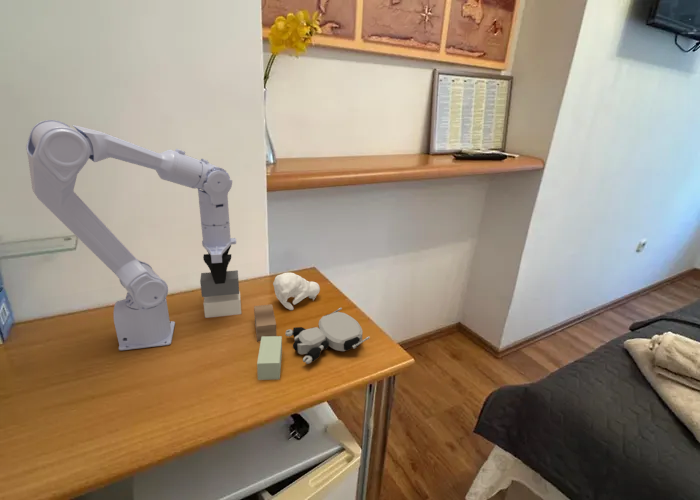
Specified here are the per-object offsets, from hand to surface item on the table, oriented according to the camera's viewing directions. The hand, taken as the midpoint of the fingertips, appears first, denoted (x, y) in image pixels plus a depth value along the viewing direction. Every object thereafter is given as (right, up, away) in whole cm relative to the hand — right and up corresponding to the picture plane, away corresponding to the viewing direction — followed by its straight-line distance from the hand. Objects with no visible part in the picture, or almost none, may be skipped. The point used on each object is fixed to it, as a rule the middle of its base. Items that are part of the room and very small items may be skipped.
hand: (220, 278), depth 87 cm
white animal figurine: (+16, -7, +10) cm, 20 cm away
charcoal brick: (0, -3, +1) cm, 3 cm away
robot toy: (+24, -14, -5) cm, 29 cm away
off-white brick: (0, -8, +4) cm, 9 cm away
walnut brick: (+11, -11, -2) cm, 16 cm away
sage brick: (+14, -16, -12) cm, 25 cm away
